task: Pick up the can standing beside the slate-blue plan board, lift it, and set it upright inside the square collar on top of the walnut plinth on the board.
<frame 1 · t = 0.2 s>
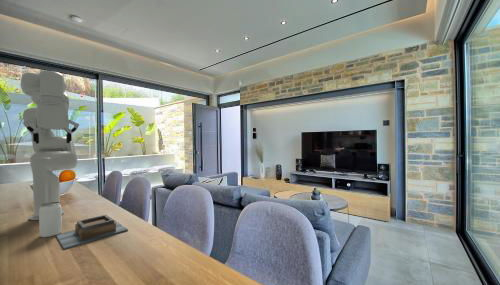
hand: (53, 143, 91), 36 cm above the table, tool pointing down, fingers open, 9 cm apart
can: (51, 234, 86), on the table
plan board: (95, 232, 87), on the table
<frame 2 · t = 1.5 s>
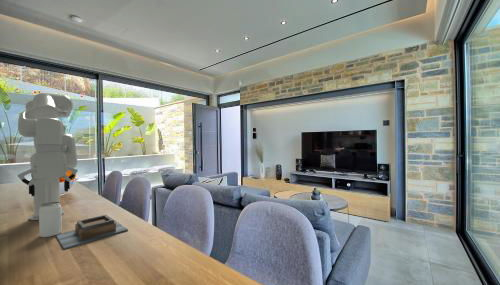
hand: (50, 193, 86), 16 cm above the table, tool pointing down, fingers open, 9 cm apart
nothing on the table moved.
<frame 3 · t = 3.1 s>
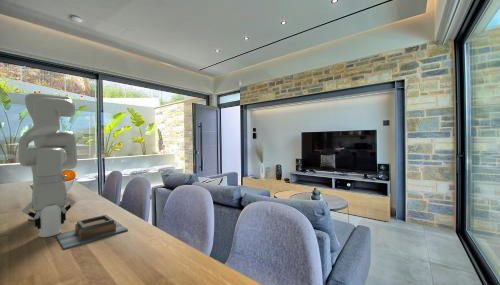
hand: (50, 224, 86), 4 cm above the table, tool pointing down, fingers closed on can, 6 cm apart
can: (50, 234, 86), on the table, touching gripper
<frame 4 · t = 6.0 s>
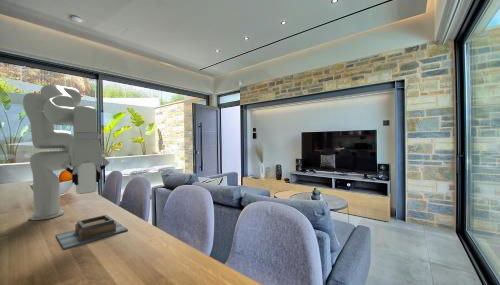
hand: (86, 182, 87), 20 cm above the table, tool pointing down, fingers closed on can, 6 cm apart
can: (86, 192, 87), point 16 cm above the table, touching gripper
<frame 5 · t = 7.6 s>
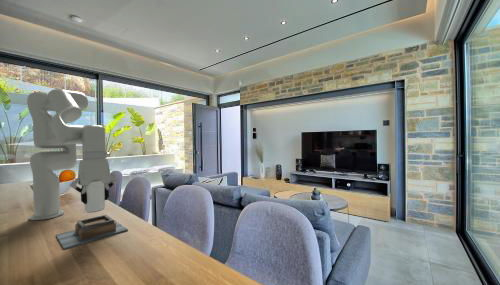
hand: (95, 201, 87), 13 cm above the table, tool pointing down, fingers closed on can, 6 cm apart
can: (95, 210, 87), point 9 cm above the table, touching gripper
when the fingers open (8 cm above the table, at t = 8.9 s): can stays where it is, resting on plan board.
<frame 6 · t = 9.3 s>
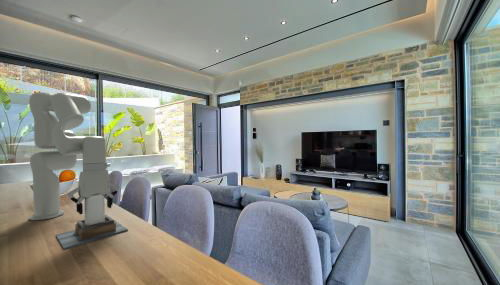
hand: (95, 210, 87), 9 cm above the table, tool pointing down, fingers open, 9 cm apart
can: (95, 224, 87), point 3 cm above the table, touching plan board
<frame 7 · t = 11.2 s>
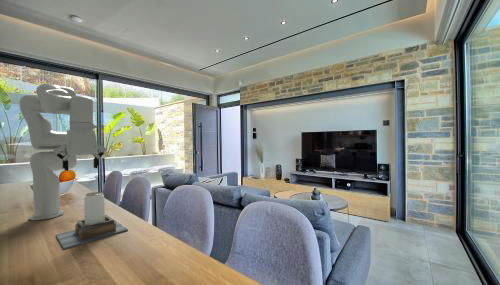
hand: (81, 169, 90), 25 cm above the table, tool pointing down, fingers open, 9 cm apart
nothing on the table moved.
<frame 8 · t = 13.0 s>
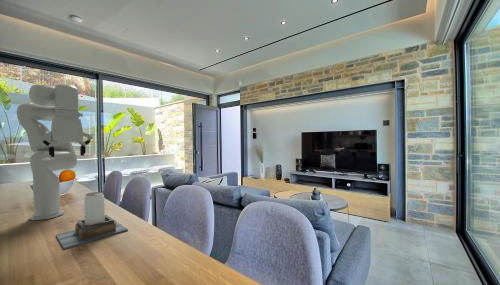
hand: (68, 156, 92), 30 cm above the table, tool pointing down, fingers open, 9 cm apart
nothing on the table moved.
at the end: can 0.3 cm off-centre on the plan board, point 3.4 cm above the plan board's base; can tilted 0°; the gripper is holding nothing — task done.
